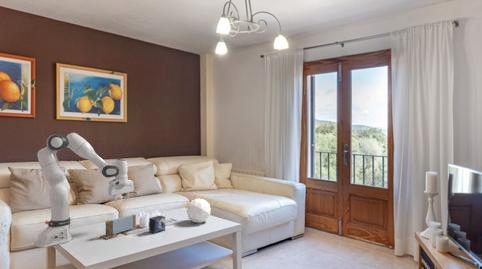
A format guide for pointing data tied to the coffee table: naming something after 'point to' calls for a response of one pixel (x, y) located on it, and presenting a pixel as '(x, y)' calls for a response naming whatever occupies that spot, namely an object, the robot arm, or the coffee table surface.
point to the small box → (156, 224)
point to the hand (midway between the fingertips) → (121, 199)
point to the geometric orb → (198, 210)
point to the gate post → (108, 231)
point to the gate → (123, 224)
